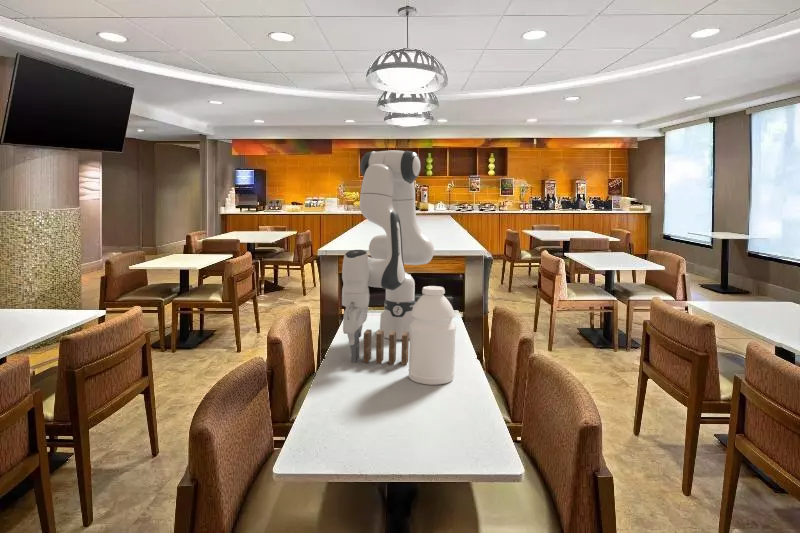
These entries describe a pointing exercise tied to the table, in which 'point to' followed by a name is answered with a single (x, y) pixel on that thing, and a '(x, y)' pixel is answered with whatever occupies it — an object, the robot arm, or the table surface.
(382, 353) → the domino
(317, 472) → the table surface
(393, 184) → the robot arm
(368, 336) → the domino
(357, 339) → the end domino
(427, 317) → the bottle
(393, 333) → the domino
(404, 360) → the domino
